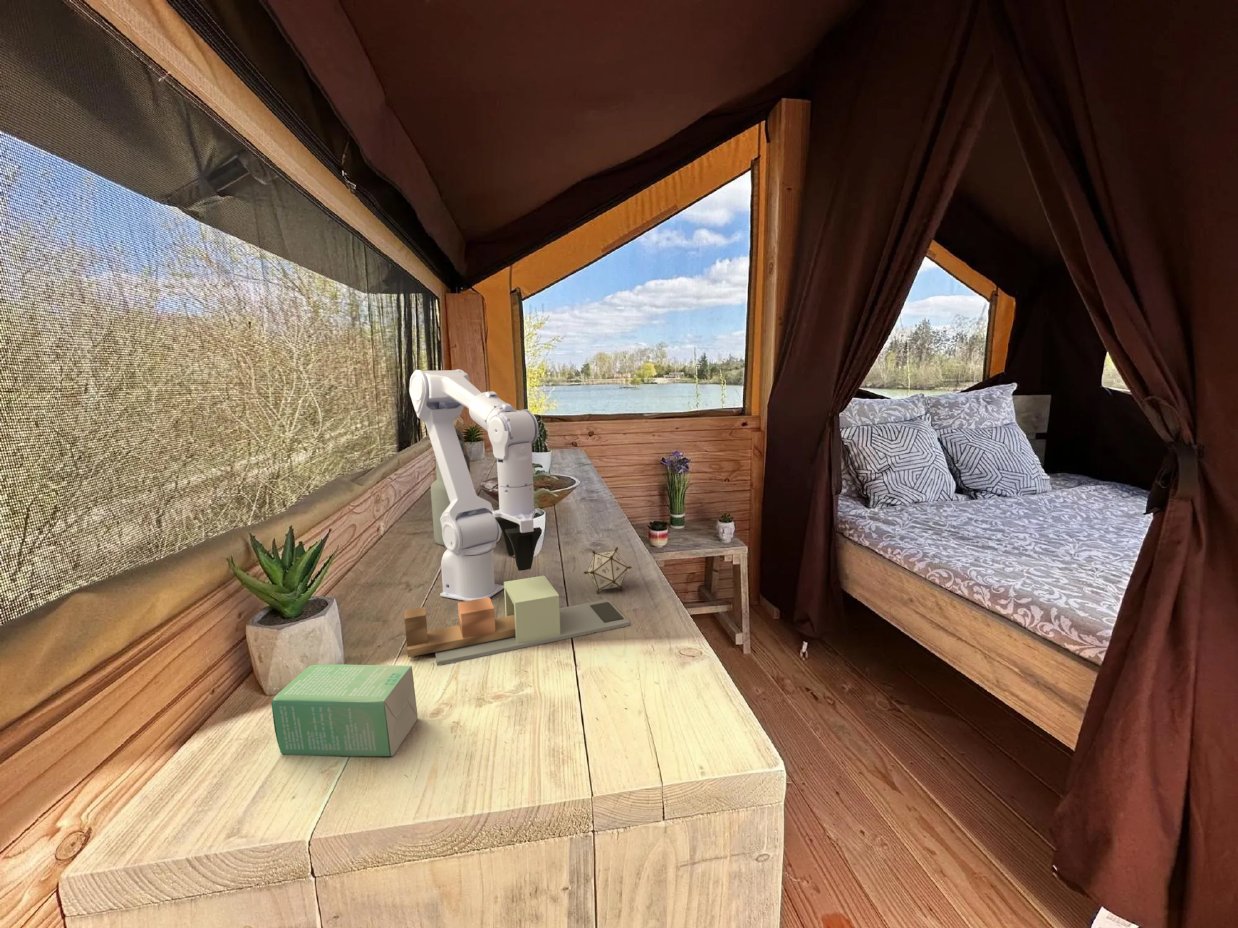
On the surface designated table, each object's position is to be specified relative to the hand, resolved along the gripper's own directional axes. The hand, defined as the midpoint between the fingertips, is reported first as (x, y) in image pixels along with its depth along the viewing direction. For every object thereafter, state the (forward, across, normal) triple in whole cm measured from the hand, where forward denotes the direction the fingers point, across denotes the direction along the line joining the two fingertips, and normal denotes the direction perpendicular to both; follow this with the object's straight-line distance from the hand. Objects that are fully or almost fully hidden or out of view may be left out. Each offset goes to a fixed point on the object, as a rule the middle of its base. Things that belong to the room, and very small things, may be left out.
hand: (519, 561), depth 93 cm
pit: (+10, +5, +14) cm, 18 cm away
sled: (+10, +5, -8) cm, 14 cm away
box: (+11, +22, -26) cm, 35 cm away
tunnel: (+10, +5, +1) cm, 11 cm away
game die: (+11, -6, +18) cm, 22 cm away
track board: (+10, +5, +1) cm, 11 cm away
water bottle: (+10, -50, -6) cm, 51 cm away
